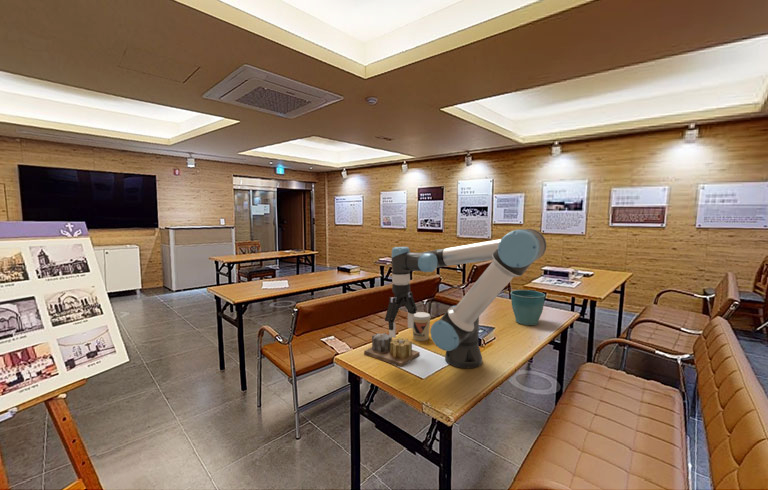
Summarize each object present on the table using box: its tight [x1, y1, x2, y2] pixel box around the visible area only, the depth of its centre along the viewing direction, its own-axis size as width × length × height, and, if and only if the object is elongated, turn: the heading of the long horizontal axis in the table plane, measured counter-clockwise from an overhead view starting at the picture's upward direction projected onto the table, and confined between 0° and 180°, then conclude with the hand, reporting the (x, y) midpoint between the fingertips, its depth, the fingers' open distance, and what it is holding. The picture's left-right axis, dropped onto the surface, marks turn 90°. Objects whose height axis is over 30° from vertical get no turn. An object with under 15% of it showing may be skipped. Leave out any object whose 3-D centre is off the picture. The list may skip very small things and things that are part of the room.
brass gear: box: [390, 337, 413, 359], centre depth 142 cm, size 9×9×6 cm
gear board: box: [363, 332, 421, 367], centre depth 145 cm, size 20×14×8 cm
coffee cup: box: [412, 311, 431, 342], centre depth 165 cm, size 9×9×12 cm
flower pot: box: [510, 289, 546, 326], centre depth 188 cm, size 18×18×17 cm
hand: (402, 332), depth 141 cm, fingers open, 13 cm apart
